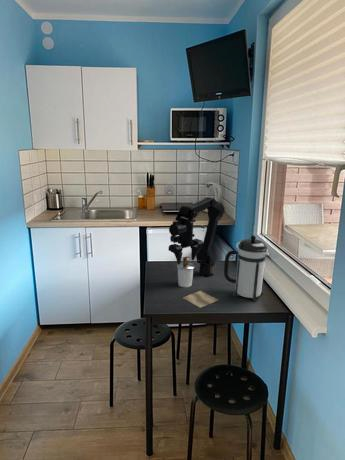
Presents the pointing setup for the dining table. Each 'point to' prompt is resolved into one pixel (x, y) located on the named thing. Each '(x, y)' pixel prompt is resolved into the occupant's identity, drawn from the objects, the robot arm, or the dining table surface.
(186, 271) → the white cup
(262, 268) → the coffee press
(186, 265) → the lid
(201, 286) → the dining table surface
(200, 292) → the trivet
